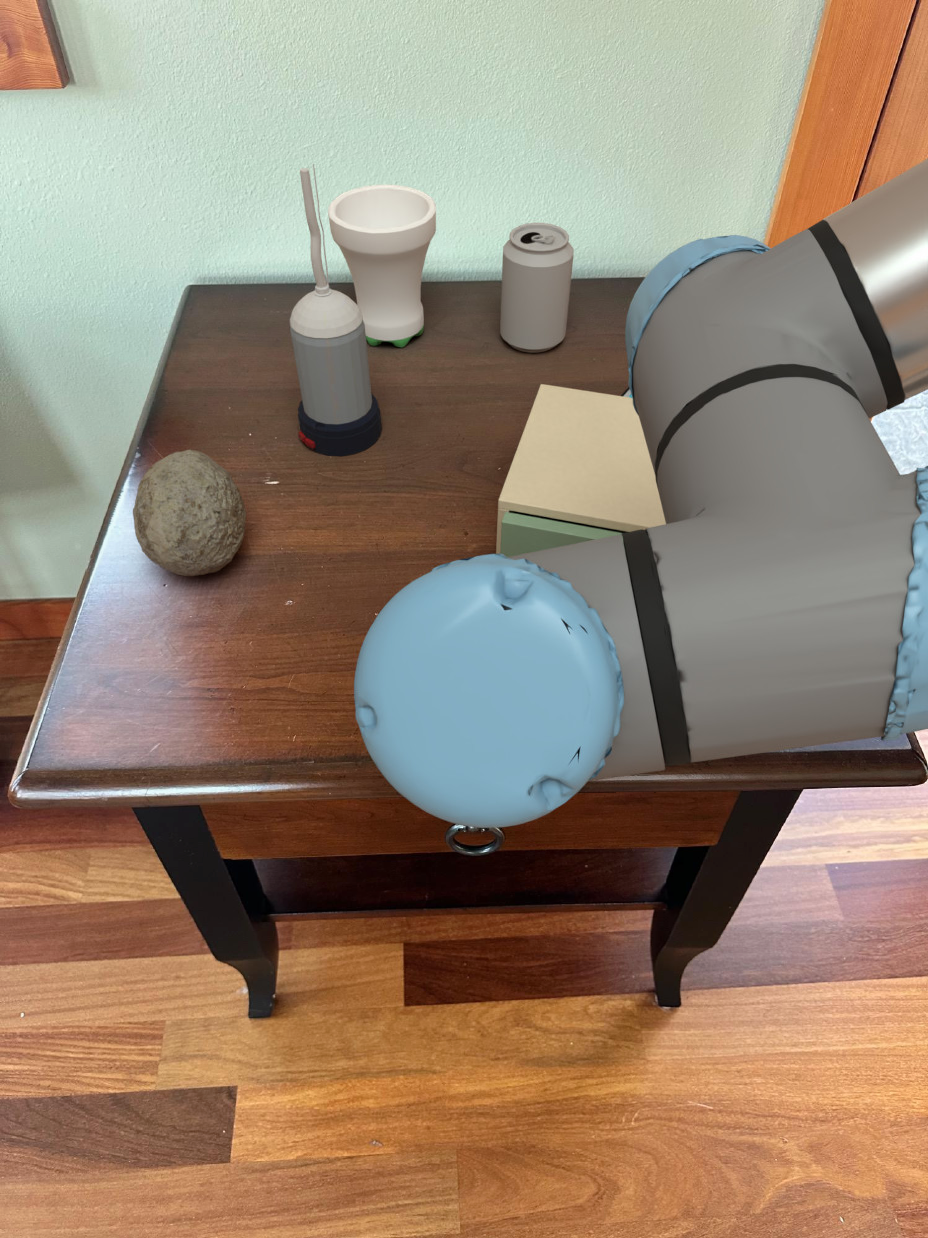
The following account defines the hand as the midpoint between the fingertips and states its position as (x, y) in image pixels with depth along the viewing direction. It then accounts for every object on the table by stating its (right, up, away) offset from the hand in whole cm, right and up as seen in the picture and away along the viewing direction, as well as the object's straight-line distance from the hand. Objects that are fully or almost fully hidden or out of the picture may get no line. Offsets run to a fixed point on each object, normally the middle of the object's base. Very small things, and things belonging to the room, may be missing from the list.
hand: (567, 617), depth 60 cm
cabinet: (+4, +7, +14) cm, 16 cm away
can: (0, +32, +36) cm, 48 cm away
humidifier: (-20, +19, +25) cm, 37 cm away
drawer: (+3, +4, +11) cm, 12 cm away
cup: (-16, +33, +37) cm, 52 cm away
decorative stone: (-30, +5, +13) cm, 33 cm away
